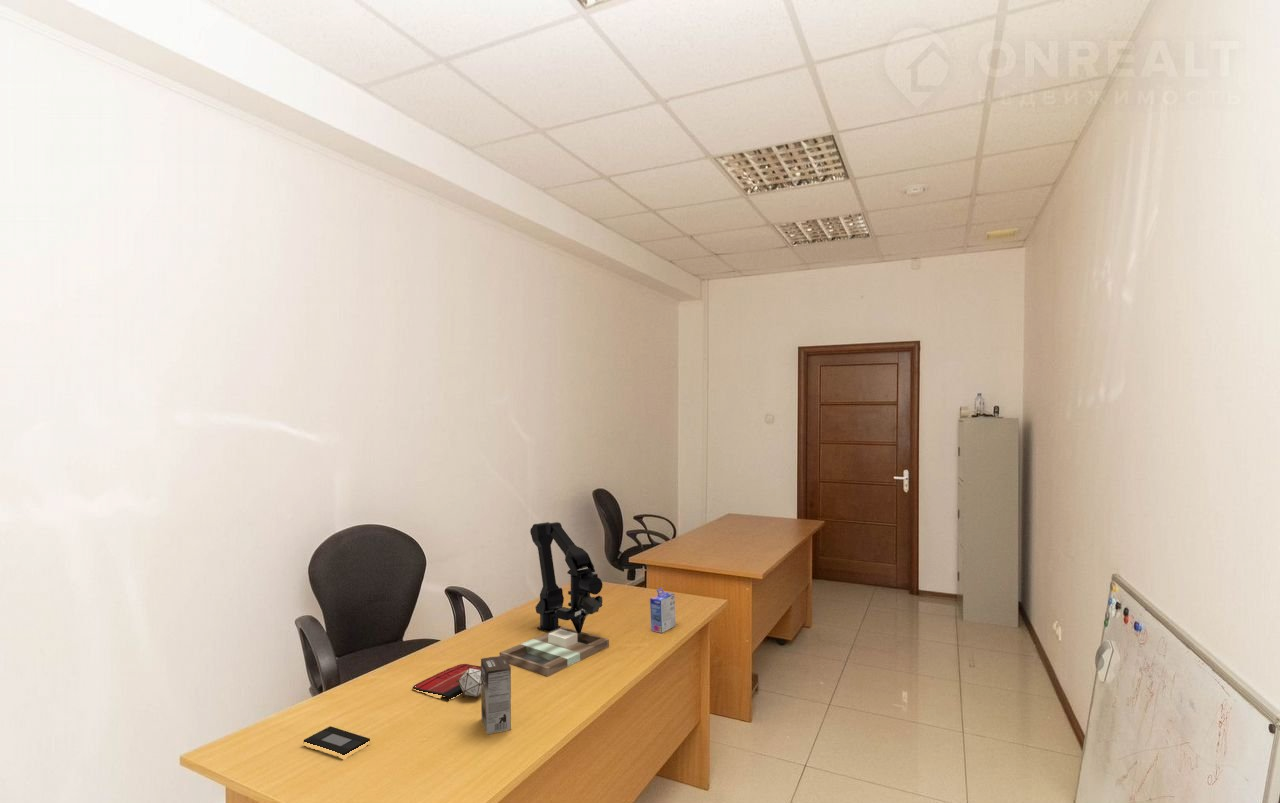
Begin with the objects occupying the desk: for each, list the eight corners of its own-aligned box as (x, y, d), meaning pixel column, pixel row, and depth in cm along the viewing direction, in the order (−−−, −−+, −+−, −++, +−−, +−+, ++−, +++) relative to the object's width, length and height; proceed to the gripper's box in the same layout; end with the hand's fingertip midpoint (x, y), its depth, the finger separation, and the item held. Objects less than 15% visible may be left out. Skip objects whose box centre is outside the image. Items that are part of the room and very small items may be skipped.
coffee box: (480, 719, 166) (480, 658, 166) (504, 714, 169) (504, 654, 169) (486, 735, 158) (486, 671, 158) (511, 730, 160) (511, 666, 161)
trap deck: (499, 660, 206) (499, 652, 206) (562, 633, 230) (562, 626, 230) (547, 676, 193) (547, 668, 193) (609, 646, 217) (609, 639, 217)
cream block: (548, 642, 214) (548, 633, 214) (560, 637, 219) (560, 628, 219) (565, 647, 209) (565, 638, 209) (577, 642, 214) (577, 633, 214)
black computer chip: (343, 762, 147) (343, 753, 147) (303, 748, 153) (303, 740, 153) (369, 746, 154) (369, 738, 154) (330, 734, 160) (330, 726, 160)
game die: (479, 707, 181) (501, 677, 182) (463, 709, 173) (485, 678, 175) (460, 686, 185) (481, 657, 186) (444, 687, 177) (466, 657, 179)
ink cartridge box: (664, 623, 240) (663, 585, 241) (676, 626, 237) (676, 587, 237) (649, 630, 232) (649, 591, 232) (662, 633, 229) (661, 594, 229)
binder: (499, 668, 194) (448, 695, 176) (499, 676, 194) (448, 703, 176) (461, 660, 202) (409, 686, 184) (462, 668, 202) (409, 694, 184)
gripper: (578, 598, 209) (578, 645, 208) (613, 585, 224) (613, 629, 223) (553, 593, 215) (554, 638, 215) (589, 581, 230) (589, 623, 230)
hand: (578, 632), depth 221 cm, fingers closed
